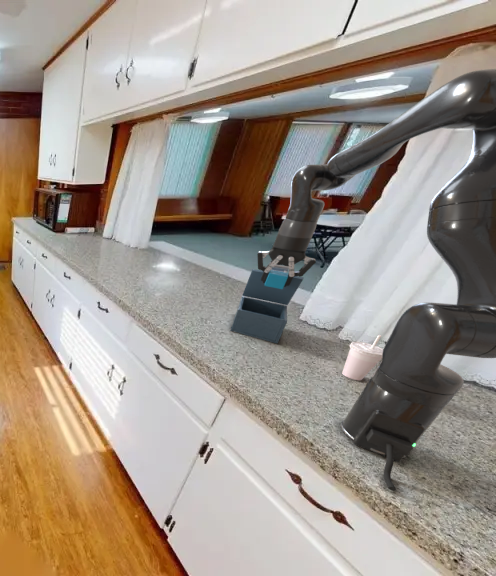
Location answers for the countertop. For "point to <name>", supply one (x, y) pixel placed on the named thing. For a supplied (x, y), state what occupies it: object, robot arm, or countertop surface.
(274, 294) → the lid
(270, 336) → the compartment
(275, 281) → the block
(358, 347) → the smoothie
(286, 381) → the countertop surface
